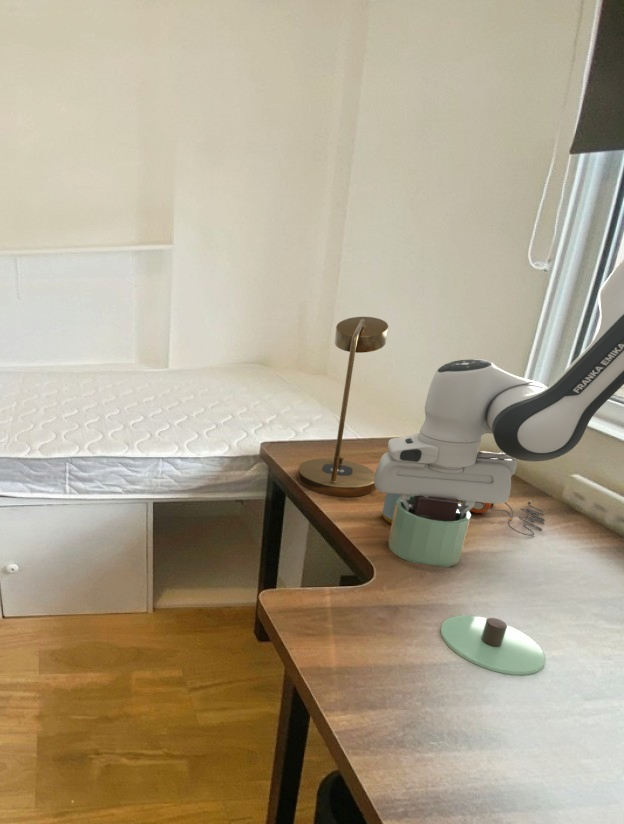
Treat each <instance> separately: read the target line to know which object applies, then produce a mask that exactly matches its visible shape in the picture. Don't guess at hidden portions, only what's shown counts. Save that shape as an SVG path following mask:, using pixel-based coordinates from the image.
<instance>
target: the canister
mask: <svg viewBox="0 0 624 824" xmlns="http://www.w3.org/2000/svg"><path fill="white" fill-rule="evenodd" d="M407 501H408V503H409V504H413V502H414V496H413V495H411V496H410V500H407ZM461 505H462V504H460V503H459V504H458V507H457V509H458V508H459V507H460V506H461ZM471 519H472V514H471V511H470V510H469V511H468V512H467V513H465V514H464V517H463V519H461V520H458V521H457V520H455V521H437V520H430V519H426V518H423V517H419V516H416V515H414V514H412V513H410V512H408V511H407V510H405V509H404V504H403V502H402V500H401V497H400V498H399V499H398V500H397V501H396V505H395V510H394V515H393V520H392V524H390V525H391V526H390V530H389V536H388V540H387V542H388V548H389V549H390V551H391V552H392V553H393V554H394V555H396V556H397V557H399V558H400V559H403V560H404V561H407V562H409V563H413V564H420V565H428V566H434V567H441V568H449V567H453V566H455V565H457V564H458V563H459V562H460V559H461V557H462V553H463V550H464V546H465V542H466V538H467V535H468V530H469V526H470V522H471Z"/></svg>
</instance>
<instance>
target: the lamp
mask: <svg viewBox="0 0 624 824" xmlns="http://www.w3.org/2000/svg"><path fill="white" fill-rule="evenodd" d="M388 331H389V324H388V323H387V322H386V321H385V320H383V319H381V318H377V317H373V316H353V317H349V318H346V319H343V320H341V321H339V322H338V323H337V325H336V327H335V336H334V345H335V346H336V348H337V349H339V350H342V351H344V352H348V353H349V355H348V361H347V368H346V369H347V370H346V375H345V383H344V389H343V395H342V403H341V410H340V416H339V424H338V429H337V435H336V444H335V449H334V458H315V459H310V460H306V461H304V462H302V463H300V464H299V465H298V468H297V475H296V478H297V481H298V482H299V483H300V484H301V485H302V486H303V487H305V488H307V489H309V490H311V491H313V492H316V493H318V494H323V495H327V496H331V497H340V498H341V497H343V498H344V497H345V498H355V497H361V496H366V495H370V494H371V493H373V492H374V491H375V490H376V487H375V484H374V478H375V473H376V472H375V471H373V470H372V469H371V468H369V467H367V466H366V465H363V464H360V463H357V462H353V461H350V460H344V456H342V455H341V448H342V443H343V437H344V436H343V435H344V429H345V423H346V416H347V409H348V403H349V396H350V390H351V384H352V382H351V381H352V376H353V371H354V370H353V369H354V364H355V358H356V353H358V354H359V353H360V354H362V353H371V352H374V351H378V350H380V349H382V348H383V347H384V346H385V345H386V343H387V337H388Z"/></svg>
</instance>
